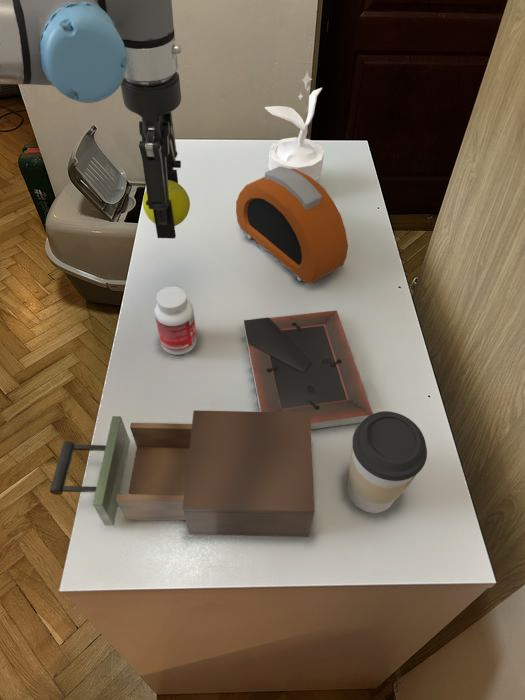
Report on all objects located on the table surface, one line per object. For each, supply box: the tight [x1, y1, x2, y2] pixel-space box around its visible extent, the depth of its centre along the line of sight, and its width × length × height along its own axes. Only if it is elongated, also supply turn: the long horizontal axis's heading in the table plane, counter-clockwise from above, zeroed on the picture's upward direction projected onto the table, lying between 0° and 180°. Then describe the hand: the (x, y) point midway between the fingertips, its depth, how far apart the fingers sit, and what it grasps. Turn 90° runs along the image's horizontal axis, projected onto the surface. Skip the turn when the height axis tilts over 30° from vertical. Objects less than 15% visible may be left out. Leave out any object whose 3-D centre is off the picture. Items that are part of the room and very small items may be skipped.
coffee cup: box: [347, 410, 428, 514], centre depth 69 cm, size 9×9×15 cm
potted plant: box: [264, 69, 325, 181], centre depth 108 cm, size 13×12×25 cm
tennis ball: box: [142, 180, 191, 227], centre depth 82 cm, size 7×7×7 cm
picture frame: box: [243, 309, 374, 430], centre depth 86 cm, size 16×2×22 cm
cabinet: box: [183, 409, 316, 538], centre depth 71 cm, size 16×14×9 cm
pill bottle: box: [154, 286, 198, 356], centre depth 86 cm, size 6×6×11 cm
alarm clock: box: [235, 166, 349, 284], centre depth 99 cm, size 23×9×17 cm, turn 38°
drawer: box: [49, 415, 192, 527], centre depth 71 cm, size 21×13×7 cm, turn 89°
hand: (169, 220), depth 85 cm, fingers closed on tennis ball, 7 cm apart
